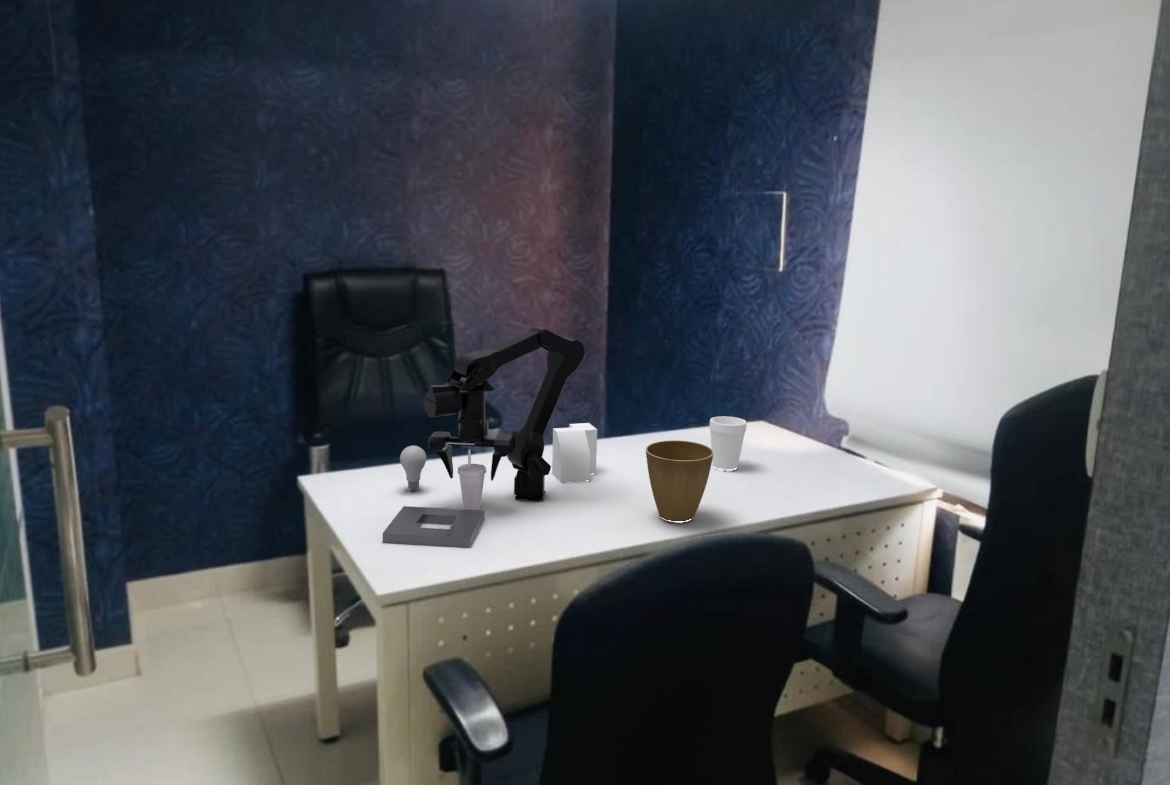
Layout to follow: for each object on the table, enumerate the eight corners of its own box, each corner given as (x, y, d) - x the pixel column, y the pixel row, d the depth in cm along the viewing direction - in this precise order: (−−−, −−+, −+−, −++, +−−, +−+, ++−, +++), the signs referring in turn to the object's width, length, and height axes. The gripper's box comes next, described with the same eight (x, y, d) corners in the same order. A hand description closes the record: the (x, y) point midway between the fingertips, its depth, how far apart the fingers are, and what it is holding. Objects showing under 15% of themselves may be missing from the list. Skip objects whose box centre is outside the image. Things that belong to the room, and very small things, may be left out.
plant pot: (641, 505, 208) (644, 439, 205) (705, 507, 208) (710, 441, 204) (643, 529, 194) (646, 458, 190) (712, 531, 194) (717, 460, 190)
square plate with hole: (484, 519, 197) (484, 510, 196) (470, 547, 181) (470, 538, 181) (403, 514, 198) (403, 506, 198) (382, 542, 182) (382, 533, 182)
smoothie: (458, 503, 206) (458, 445, 203) (486, 503, 206) (486, 445, 203) (456, 513, 200) (456, 453, 196) (485, 513, 200) (486, 453, 197)
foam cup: (748, 467, 239) (752, 420, 236) (734, 476, 232) (738, 427, 229) (715, 460, 244) (718, 414, 241) (701, 469, 237) (704, 421, 234)
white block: (587, 467, 236) (588, 422, 233) (601, 480, 225) (603, 434, 223) (548, 469, 232) (549, 425, 230) (561, 483, 222) (562, 437, 219)
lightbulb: (421, 495, 210) (420, 450, 208) (396, 493, 211) (395, 448, 209) (430, 487, 216) (430, 443, 214) (406, 485, 217) (405, 441, 215)
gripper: (519, 404, 205) (518, 470, 209) (438, 401, 206) (439, 466, 210) (511, 417, 194) (511, 485, 198) (426, 413, 196) (427, 481, 199)
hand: (472, 479), depth 201 cm, fingers open, 9 cm apart
